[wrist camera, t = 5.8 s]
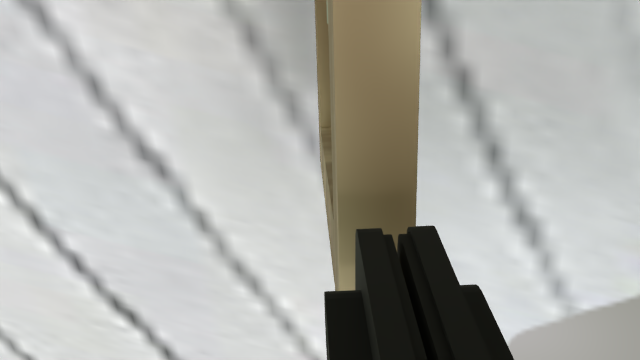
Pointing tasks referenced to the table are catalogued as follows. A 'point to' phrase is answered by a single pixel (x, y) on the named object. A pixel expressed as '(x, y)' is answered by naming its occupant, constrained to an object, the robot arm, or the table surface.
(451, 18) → the table surface
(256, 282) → the table surface
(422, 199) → the table surface
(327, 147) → the picture frame
